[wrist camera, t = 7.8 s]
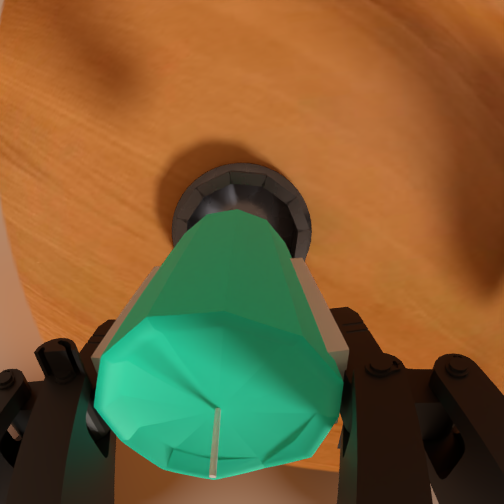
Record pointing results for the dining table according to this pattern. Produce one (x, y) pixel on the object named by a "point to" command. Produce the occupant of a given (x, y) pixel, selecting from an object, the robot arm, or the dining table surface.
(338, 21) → the dining table surface
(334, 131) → the dining table surface
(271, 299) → the candle
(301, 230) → the candle cup
